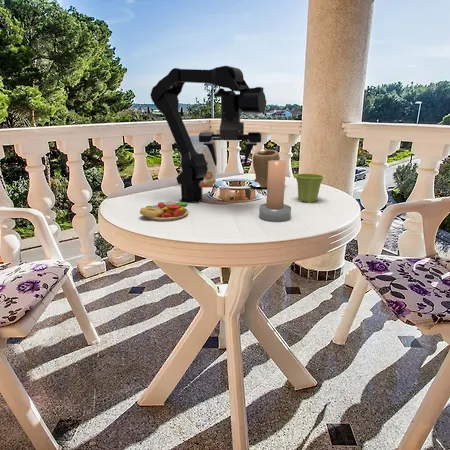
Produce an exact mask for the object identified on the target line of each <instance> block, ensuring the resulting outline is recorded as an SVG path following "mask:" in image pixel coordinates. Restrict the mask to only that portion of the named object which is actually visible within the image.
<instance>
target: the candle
mask: <svg viewBox="0 0 450 450" xmlns="http://www.w3.org/2000/svg"><path fill="white" fill-rule="evenodd" d="M286 167H287V161H286V160H271V161H268V182H267V188H266V204H267V205H266V207H267V208H269V209H282V208H283V204H284V200H285V185H286Z"/></svg>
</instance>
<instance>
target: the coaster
mask: <svg viewBox="0 0 450 450" xmlns="http://www.w3.org/2000/svg"><path fill="white" fill-rule="evenodd" d="M266 205H267V203H263V204H260V205H259V209H258V210H259V211H258V218H259V219H260V220H263V221H265V222H271V223H273V222H274V223H281V222H287V221H290V219H291V215H292V207H291V206H290V205H288V204H283V208H282V209H269V208H267V207H266Z"/></svg>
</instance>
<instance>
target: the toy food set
mask: <svg viewBox="0 0 450 450" xmlns="http://www.w3.org/2000/svg"><path fill="white" fill-rule="evenodd" d="M188 205H189V202H180V201H179V202H177V201H171V200H170V201H163V202H161V201H160V202H158V203H157V204H153V205H147V206H145V207H141V208H140V210H139V214H140V215H142V216H145V217H146V218H147V219H149V220H150V221H151V220H152V221H158V222H170V221H176V220H181V219H183V218H185V217H186V216H187V215H188V214H189V210H188V209H187V208H186V207H187V206H188Z"/></svg>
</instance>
